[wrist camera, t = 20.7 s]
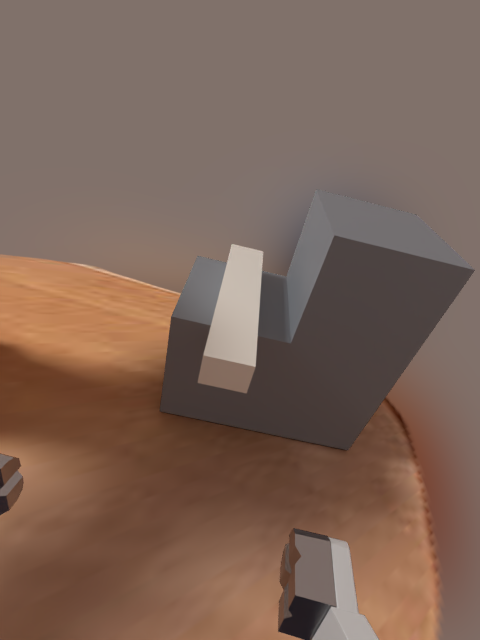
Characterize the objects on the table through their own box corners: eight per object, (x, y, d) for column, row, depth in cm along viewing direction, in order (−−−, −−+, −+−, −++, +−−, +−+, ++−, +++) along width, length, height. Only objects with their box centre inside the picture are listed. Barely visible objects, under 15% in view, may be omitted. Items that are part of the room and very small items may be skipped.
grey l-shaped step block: (159, 411, 41) (185, 198, 26) (184, 339, 53) (212, 162, 38) (348, 450, 43) (475, 270, 28) (332, 372, 54) (416, 214, 39)
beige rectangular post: (197, 382, 27) (203, 355, 25) (227, 265, 44) (231, 243, 42) (246, 393, 27) (255, 366, 25) (257, 272, 44) (263, 251, 42)
